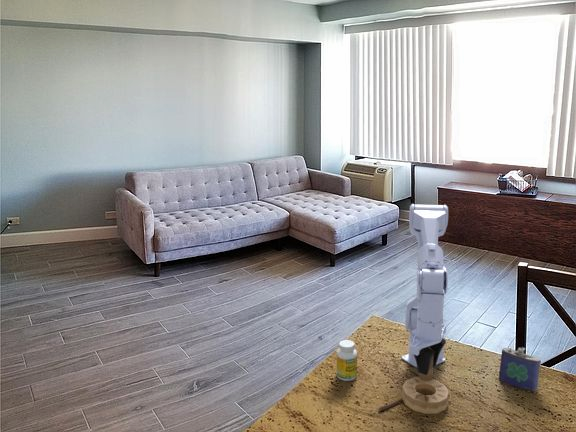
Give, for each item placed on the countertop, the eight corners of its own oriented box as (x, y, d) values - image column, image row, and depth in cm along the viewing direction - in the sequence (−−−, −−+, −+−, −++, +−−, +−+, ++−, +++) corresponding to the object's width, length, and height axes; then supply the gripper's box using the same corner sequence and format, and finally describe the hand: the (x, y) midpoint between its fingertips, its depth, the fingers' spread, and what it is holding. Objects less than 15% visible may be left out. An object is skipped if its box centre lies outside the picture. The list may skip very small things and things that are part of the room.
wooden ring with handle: (423, 382, 129) (423, 372, 129) (456, 403, 121) (457, 392, 120) (372, 406, 120) (372, 395, 119) (404, 430, 112) (404, 419, 111)
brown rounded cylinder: (421, 372, 123) (423, 342, 121) (434, 376, 121) (435, 345, 119) (416, 378, 121) (417, 347, 119) (429, 382, 119) (431, 351, 117)
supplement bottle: (347, 368, 137) (348, 336, 134) (361, 377, 132) (361, 344, 130) (332, 374, 134) (332, 342, 131) (345, 384, 130) (345, 350, 127)
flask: (538, 389, 126) (542, 351, 123) (535, 395, 124) (539, 356, 121) (500, 377, 132) (504, 340, 129) (496, 382, 129) (500, 344, 127)
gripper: (428, 303, 125) (425, 352, 128) (398, 323, 114) (396, 376, 118) (455, 311, 120) (451, 361, 123) (427, 333, 110) (424, 387, 113)
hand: (426, 369), depth 120 cm, fingers closed on brown rounded cylinder, 3 cm apart
